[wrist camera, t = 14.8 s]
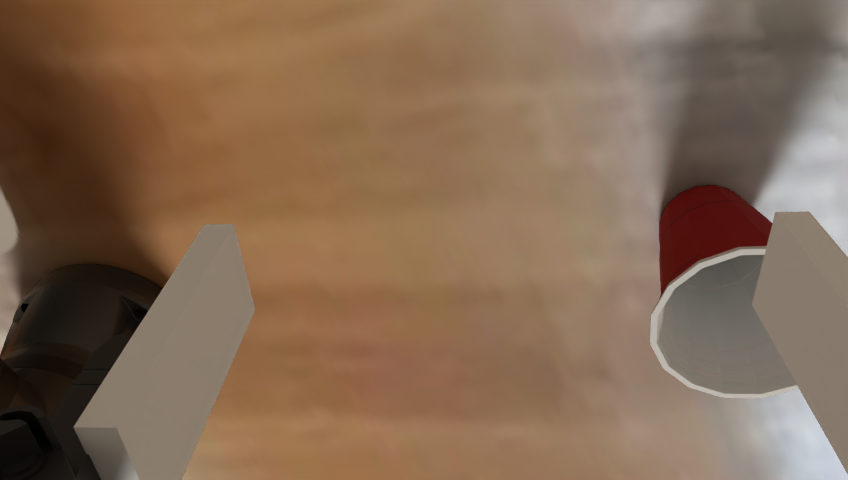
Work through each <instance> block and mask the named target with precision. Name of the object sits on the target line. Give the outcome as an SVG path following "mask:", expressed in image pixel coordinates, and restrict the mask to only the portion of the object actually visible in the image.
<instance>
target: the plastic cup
mask: <svg viewBox="0 0 848 480" xmlns="http://www.w3.org/2000/svg"><path fill="white" fill-rule="evenodd" d="M771 228H772V223H771V222H770V221H769V220H768V219H767V218H766V217H765V216H763V215H762V214H761V213H760V212H758V211H757V210H756V209H755V208H754V207H752V206H750V205H749V204H748V203H747V202H746V201H745V200H744V199H742V198H741V197H740V196H739V195H737V194H736V193H735V192H734V191H731V190H729V189H727V188H723V187H719V186H716V185H706V186H696V187H693V188H691V189H689V190H686V191H684V192H682V193H680V194H678V195H677V196H676V197H675V198H674V199H673V200H672V201H670V202H669V203H668V204H667V206H666V208H665V210H664V212H663V214H662V215H661V220H660V224H659V242H660V259H659V260H660V282H661V296H660V299H659V301H658V302H657V304H656V306H655V308H654V309H653V311H652V314H651V335H650V344H651V346H652V348H653V350H654V352H655V354H656V356H657V357H658V359H659V361H660V363H661V365H662V367H663V369H665V370H666V371H667V372H669V373H670V374H671V375H673V376H674V377H675V378H677V379H678V380H680V381H681V382H682V383H684V384H685V385H686V386H688V387H689V388H693V389H696V390H699V391H703V392H706V393H709V394H712V395H716V396H719V397H722V398H764V397H768V396H772V395H776V394H780V393H784V392H788V391H792V390H796V389H799V387H798V385H797V384H796V382H795V380H794V378H793V377H792V375H791V373H790V371H789V370H788V368H787V366H786V364H785V363H784V361H783V359H782V357H781V355H780V354H779V352H778V350H777V348H776V347H775V345H774V343H773V341H772V340H771V338H770V336H769V334H768V333H767V331H766V329H765V327H764V325H763V324H762V322H761V320H760V318H759V317H758V315H757V313H756V311H755V310H754V308H753V306H752V302H753V298H754V294H755V290H756V286H757V282H758V279H759V275H760V271H761V267H762V263H763V259H764V255H765V251H766V247H767V243H768V239H769V235H770V231H771Z"/></svg>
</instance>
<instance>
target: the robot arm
mask: <svg viewBox="0 0 848 480" xmlns="http://www.w3.org/2000/svg"><path fill="white" fill-rule="evenodd" d="M752 306H753V308H754V310H755V311H756V313H757V315H758V317H759V318H760V320H761V322H762V324H763V325H764V327H765V329H766V331H767V333H768V334H769V336H770V338H771V340H772V341H773V343H774V345H775V347H776V348H777V350H778V352H779V354H780V355H781V357H782V359H783V361H784V363H785V364H786V366H787V368H788V370H789V371H790V373H791V375H792V377H793V378H794V380H795V382H796V384H797V385H798V387H799V389H800V391H801V393H802V394H803V396H804V398H805V400H806V401H807V403H808V405H809V407H810V408H811V410H812V412H813V414H814V415H815V417H816V419H817V421H818V423H819V424H820V426H821V428H822V430H823V431H824V433H825V435H826V437H827V438H828V440H829V442H830V444H831V445H832V447H833V449H834V451H835V452H836V454H837V456H838V458H839V460H840V461H841V463H842V465H843V467H844V468H845V470H846V472H847V474H848V257H847V256H846V255H845V253H844V252H843V251H842V250H841V249H840V248H839V246H838V245H837V244H836V243H835V242H834V240H833V239H832V238H831V237H830V236H829V234H828V233H827V232H826V231H825V230H824V229H823V227H822V226H821V225H820V224H819V223H818V221H817V220H816V219H815V218H814V217H813V215H812V214H811V213H810V212H775V216H774V220H773V224H772V228H771V231H770V235H769V239H768V243H767V247H766V251H765V255H764V259H763V263H762V267H761V271H760V275H759V279H758V282H757V286H756V290H755V294H754V298H753V302H752ZM254 311H255V308H254V303H253V299H252V295H251V291H250V287H249V283H248V279H247V275H246V271H245V267H244V263H243V259H242V255H241V251H240V247H239V243H238V239H237V235H236V231H235V227H234V224H204V226H203V227H202V229H201V230H200V232H199V233H198V235H197V237H196V238H195V240H194V241H193V243H192V244H191V246H190V247H189V249H188V250H187V252H186V254H185V255H184V257H183V258H182V260H181V261H180V263H179V264H178V266H177V267H176V269H175V271H174V272H173V274H172V275H171V277H170V278H169V280H168V281H167V283H166V285H165V286H164V288H163V289H161V288H160V287H158V286H157V285H155V284H153V283H152V282H150V281H148V280H146V279H144V278H142V277H140V276H138V275H135V274H133V273H130V272H128V271H125V270H121V269H118V268H114V267H109V266H103V265H93V264H81V265H72V266H67V267H63V268H60V269H57V270H55V271H53V272H51V273H49V274H47V275H46V276H45V277H43V278H42V279H41V280H40V281H39V282H38V283H37V284H36V285H35V286H34V287H33V288H32V289H31V290H30V292H29V293H28V294H27V295H26V296H25V297H24V298H23V300H22V301H21V303H20V304H19V306H18V308H17V310H16V313H15V315H14V318H13V323H12V325H11V327H10V329H9V332H8V335H7V337H6V340H5V343H4V346H3V349H2V351H1V354H0V480H182V477H183V475H184V473H185V470H186V468H187V466H188V464H189V461H190V459H191V457H192V454H193V452H194V450H195V447H196V445H197V443H198V440H199V438H200V436H201V434H202V431H203V429H204V427H205V424H206V422H207V420H208V417H209V415H210V413H211V410H212V408H213V406H214V404H215V401H216V399H217V397H218V394H219V392H220V390H221V387H222V385H223V383H224V380H225V378H226V376H227V374H228V371H229V369H230V367H231V364H232V362H233V360H234V357H235V355H236V353H237V350H238V348H239V346H240V344H241V341H242V339H243V337H244V334H245V332H246V330H247V327H248V325H249V323H250V321H251V318H252V316H253V314H254Z"/></svg>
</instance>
